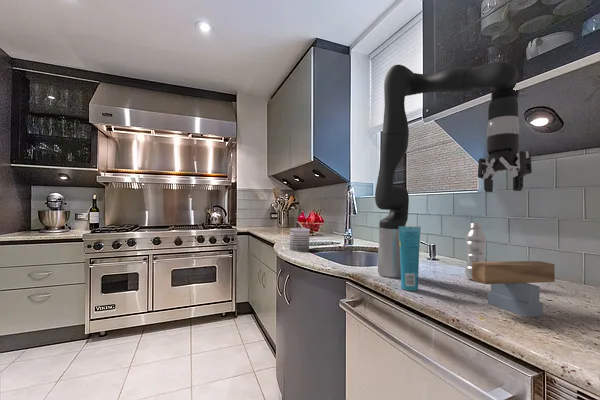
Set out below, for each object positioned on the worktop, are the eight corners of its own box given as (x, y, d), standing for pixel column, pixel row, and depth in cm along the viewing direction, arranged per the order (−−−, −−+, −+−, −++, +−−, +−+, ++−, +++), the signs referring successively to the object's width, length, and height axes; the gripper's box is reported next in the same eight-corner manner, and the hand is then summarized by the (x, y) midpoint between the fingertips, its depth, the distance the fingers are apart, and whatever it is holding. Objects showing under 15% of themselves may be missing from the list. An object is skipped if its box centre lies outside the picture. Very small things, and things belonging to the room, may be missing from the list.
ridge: (487, 303, 76) (487, 276, 76) (502, 301, 77) (502, 275, 77) (526, 317, 66) (526, 287, 66) (542, 315, 68) (542, 285, 68)
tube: (413, 286, 91) (414, 225, 92) (424, 290, 87) (425, 226, 87) (394, 287, 89) (394, 225, 89) (404, 292, 84) (404, 226, 85)
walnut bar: (472, 279, 72) (472, 261, 72) (538, 278, 76) (538, 261, 76) (484, 284, 68) (485, 265, 68) (554, 282, 72) (554, 264, 72)
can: (310, 248, 168) (310, 228, 168) (308, 251, 156) (308, 229, 157) (291, 247, 169) (291, 227, 169) (287, 250, 158) (288, 229, 158)
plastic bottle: (488, 280, 101) (489, 223, 101) (483, 283, 96) (483, 224, 97) (468, 276, 106) (469, 222, 106) (462, 279, 101) (462, 222, 101)
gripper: (471, 139, 88) (470, 192, 88) (517, 127, 74) (517, 189, 74) (490, 141, 90) (490, 193, 90) (539, 130, 76) (538, 190, 76)
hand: (502, 191), depth 82 cm, fingers open, 8 cm apart
